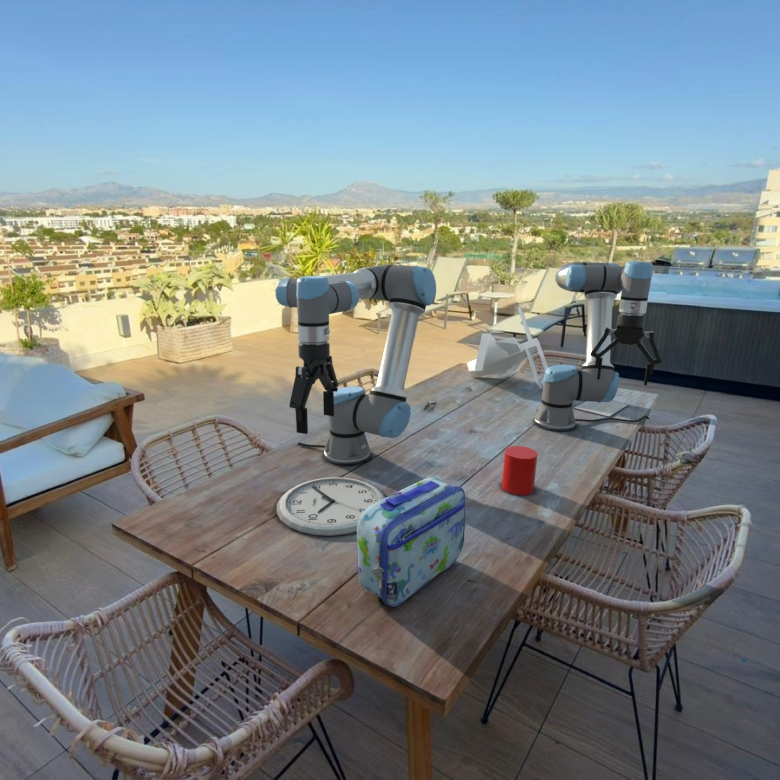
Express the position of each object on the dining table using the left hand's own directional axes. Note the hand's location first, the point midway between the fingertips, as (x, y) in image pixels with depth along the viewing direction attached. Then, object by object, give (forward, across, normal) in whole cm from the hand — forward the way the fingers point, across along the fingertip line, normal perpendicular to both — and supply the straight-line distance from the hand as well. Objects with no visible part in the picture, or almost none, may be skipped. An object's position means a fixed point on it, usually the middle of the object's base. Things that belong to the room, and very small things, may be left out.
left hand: (316, 423), depth 133 cm
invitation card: (+25, +124, -70) cm, 145 cm away
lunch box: (+25, -17, -33) cm, 44 cm away
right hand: (-3, +65, -73) cm, 97 cm away
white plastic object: (+25, +142, -25) cm, 147 cm away
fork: (+25, +94, -1) cm, 98 cm away
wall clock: (+25, +4, -2) cm, 25 cm away
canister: (+25, +34, -48) cm, 64 cm away
